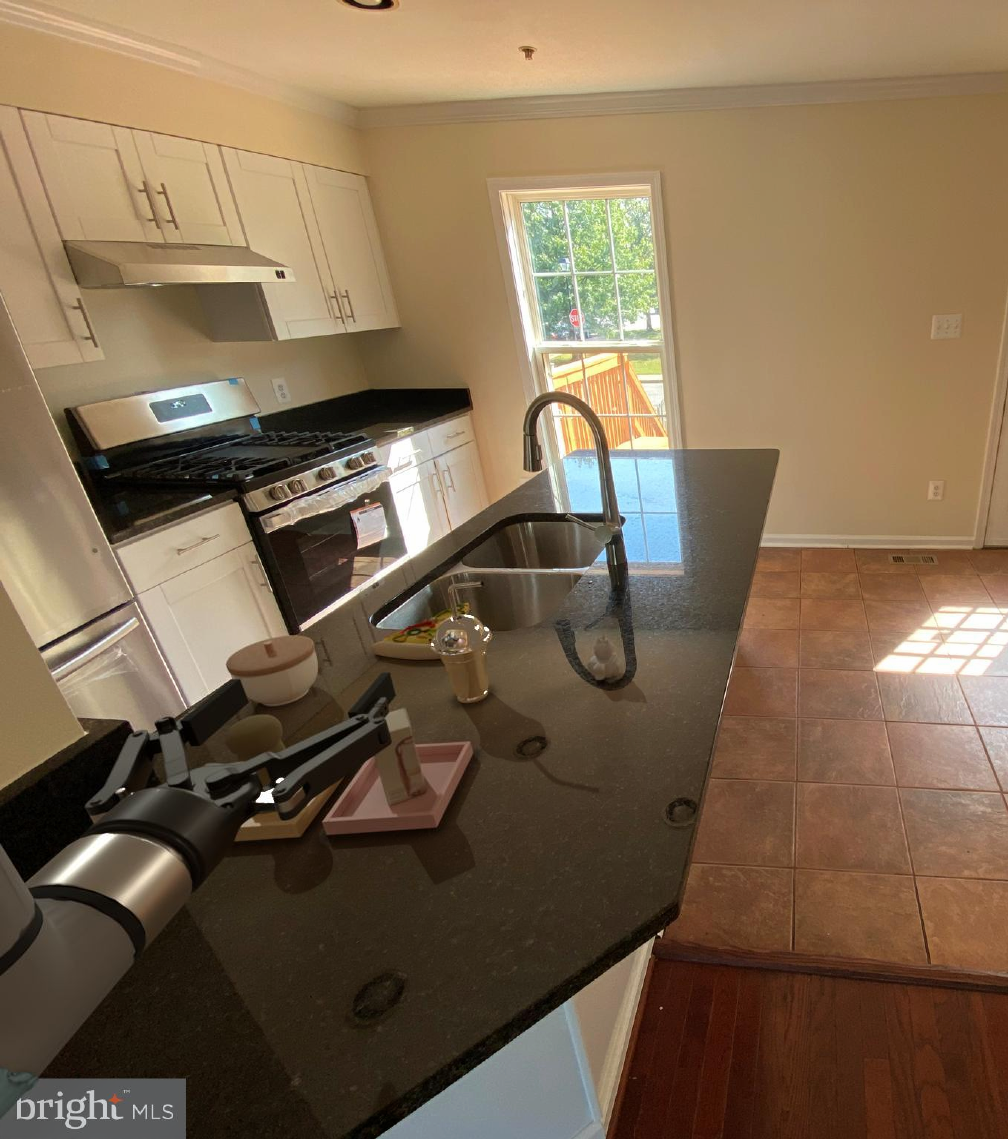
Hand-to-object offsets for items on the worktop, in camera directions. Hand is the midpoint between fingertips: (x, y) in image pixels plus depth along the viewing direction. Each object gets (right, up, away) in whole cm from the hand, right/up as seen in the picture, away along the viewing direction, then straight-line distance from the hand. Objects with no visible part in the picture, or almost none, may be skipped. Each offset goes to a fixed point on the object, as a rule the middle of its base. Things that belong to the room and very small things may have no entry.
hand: (315, 687), depth 60 cm
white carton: (-1, -16, +17) cm, 24 cm away
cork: (-16, -17, +16) cm, 28 cm away
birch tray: (-16, -17, +16) cm, 28 cm away
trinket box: (-31, -8, +36) cm, 48 cm away
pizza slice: (-16, 0, +55) cm, 58 cm away
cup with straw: (-2, -8, +37) cm, 38 cm away
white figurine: (+18, -7, +42) cm, 46 cm away
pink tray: (-1, -16, +17) cm, 24 cm away
